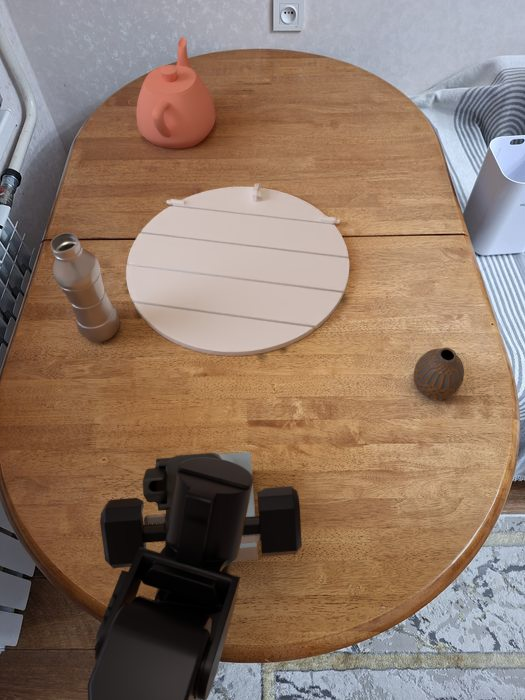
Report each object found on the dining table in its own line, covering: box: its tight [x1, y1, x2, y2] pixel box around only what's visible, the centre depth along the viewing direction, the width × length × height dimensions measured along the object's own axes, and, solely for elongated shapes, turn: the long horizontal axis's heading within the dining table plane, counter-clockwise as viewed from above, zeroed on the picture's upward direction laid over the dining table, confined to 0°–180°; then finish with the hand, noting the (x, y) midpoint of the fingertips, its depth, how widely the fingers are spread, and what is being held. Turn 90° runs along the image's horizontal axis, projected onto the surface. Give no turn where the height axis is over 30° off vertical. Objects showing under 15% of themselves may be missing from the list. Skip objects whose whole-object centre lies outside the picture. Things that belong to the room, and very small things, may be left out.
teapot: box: [136, 36, 217, 149], centre depth 116 cm, size 25×17×13 cm
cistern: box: [215, 451, 259, 563], centre depth 69 cm, size 12×10×8 cm
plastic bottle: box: [50, 232, 120, 343], centre depth 82 cm, size 6×7×20 cm
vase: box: [413, 347, 465, 401], centre depth 79 cm, size 7×7×9 cm
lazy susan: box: [125, 182, 350, 357], centre depth 97 cm, size 40×39×3 cm
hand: (208, 489), depth 61 cm, fingers closed
